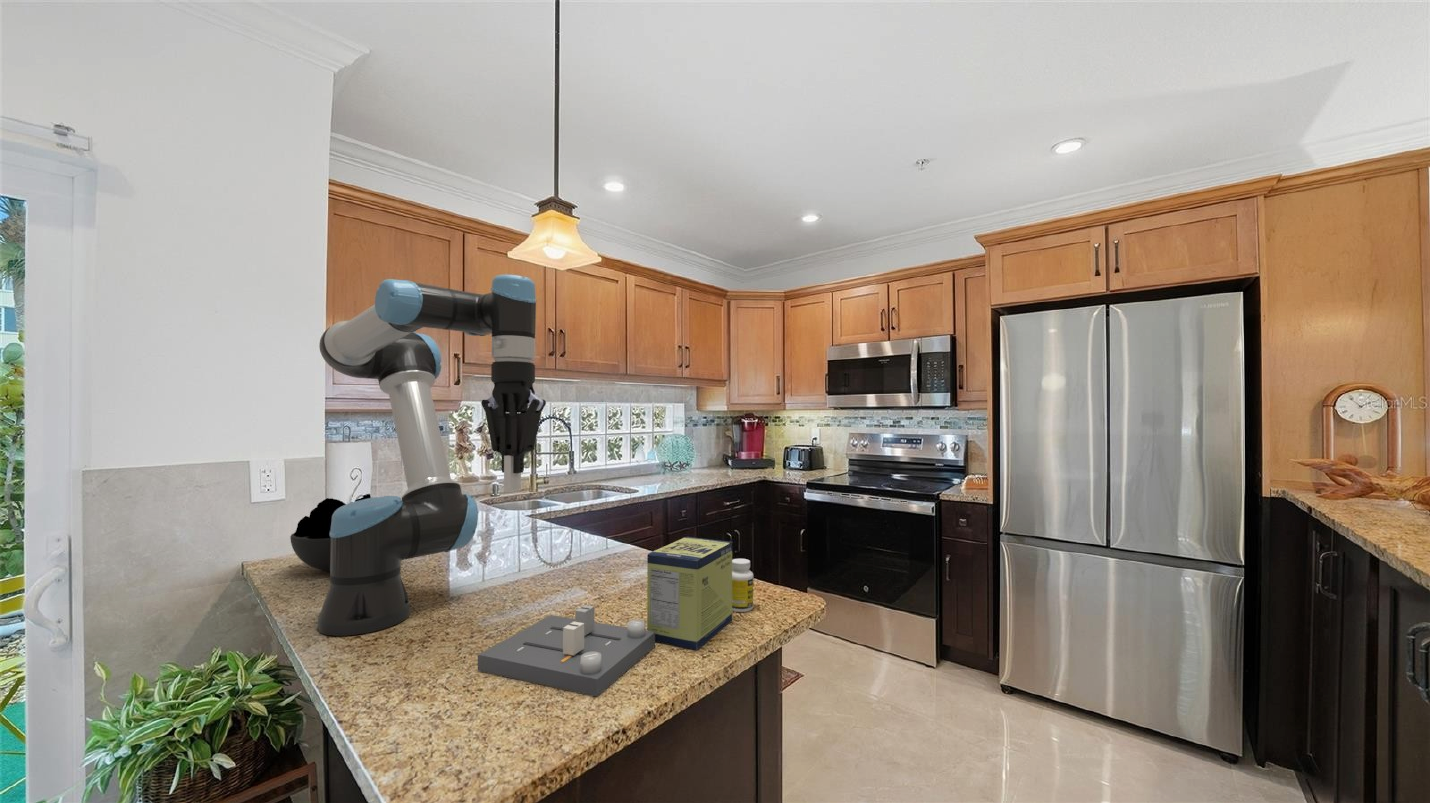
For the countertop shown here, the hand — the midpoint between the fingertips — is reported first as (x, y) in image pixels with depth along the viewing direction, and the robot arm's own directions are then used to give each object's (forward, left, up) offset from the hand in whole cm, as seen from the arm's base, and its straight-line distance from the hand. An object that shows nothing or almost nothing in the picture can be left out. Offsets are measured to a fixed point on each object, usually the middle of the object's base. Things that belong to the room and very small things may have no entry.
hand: (512, 490), depth 99 cm
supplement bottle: (+34, +29, -27) cm, 52 cm away
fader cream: (+18, -6, -24) cm, 30 cm away
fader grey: (+15, +1, -24) cm, 28 cm away
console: (+15, -3, -26) cm, 31 cm away
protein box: (+29, +15, -27) cm, 42 cm away
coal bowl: (-72, +18, -27) cm, 79 cm away
